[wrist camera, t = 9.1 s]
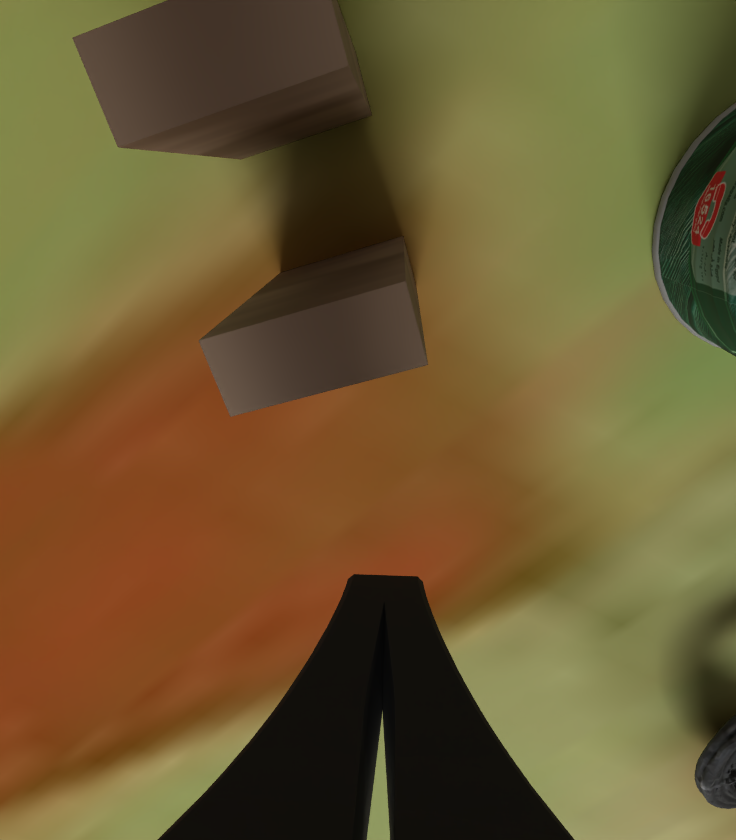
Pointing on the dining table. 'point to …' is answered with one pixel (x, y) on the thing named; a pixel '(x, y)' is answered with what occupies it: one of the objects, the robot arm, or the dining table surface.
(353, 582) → the robot arm
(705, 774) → the milk frother
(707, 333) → the canned tomato
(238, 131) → the domino
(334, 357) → the domino
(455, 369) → the dining table surface
